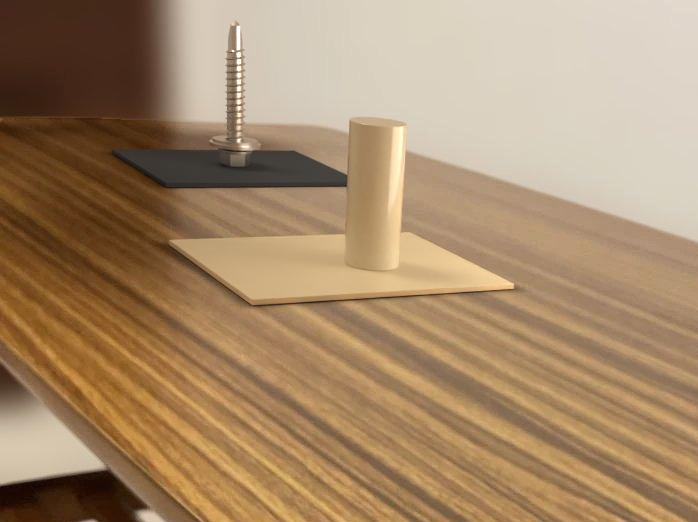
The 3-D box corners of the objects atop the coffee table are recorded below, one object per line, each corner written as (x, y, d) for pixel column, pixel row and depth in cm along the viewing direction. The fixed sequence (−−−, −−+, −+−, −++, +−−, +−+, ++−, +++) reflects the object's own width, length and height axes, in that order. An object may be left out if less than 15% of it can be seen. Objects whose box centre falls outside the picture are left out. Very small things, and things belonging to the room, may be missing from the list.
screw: (232, 171, 116) (198, 161, 119) (271, 168, 120) (237, 158, 122) (232, 22, 111) (196, 16, 113) (273, 24, 114) (237, 17, 117)
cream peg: (359, 272, 88) (365, 126, 83) (334, 258, 91) (339, 116, 86) (408, 269, 90) (417, 127, 86) (383, 255, 93) (390, 117, 88)
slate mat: (166, 187, 108) (166, 182, 108) (111, 153, 120) (111, 149, 120) (361, 185, 119) (361, 181, 118) (294, 154, 130) (294, 150, 130)
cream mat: (251, 305, 79) (251, 299, 79) (168, 244, 90) (168, 239, 90) (513, 289, 90) (514, 283, 89) (409, 236, 101) (409, 231, 101)
